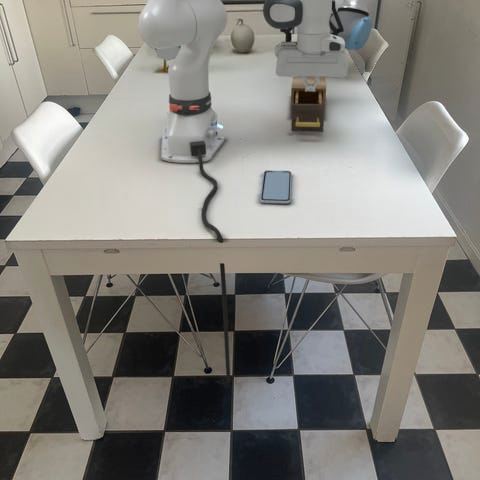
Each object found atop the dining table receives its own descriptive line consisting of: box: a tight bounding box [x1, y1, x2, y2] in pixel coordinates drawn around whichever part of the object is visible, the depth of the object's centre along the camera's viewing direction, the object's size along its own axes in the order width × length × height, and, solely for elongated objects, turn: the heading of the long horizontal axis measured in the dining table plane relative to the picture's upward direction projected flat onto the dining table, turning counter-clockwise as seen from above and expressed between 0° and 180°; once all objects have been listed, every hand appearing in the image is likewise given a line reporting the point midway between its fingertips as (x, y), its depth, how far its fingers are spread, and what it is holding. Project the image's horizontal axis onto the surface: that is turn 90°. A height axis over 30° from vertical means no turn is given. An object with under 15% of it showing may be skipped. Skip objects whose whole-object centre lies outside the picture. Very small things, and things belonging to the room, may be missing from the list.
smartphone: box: [259, 169, 293, 205], centre depth 129 cm, size 7×1×15 cm
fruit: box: [230, 18, 255, 53], centre depth 228 cm, size 10×12×15 cm
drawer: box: [290, 91, 326, 133], centre depth 159 cm, size 24×10×8 cm, turn 174°
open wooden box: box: [289, 76, 327, 120], centre depth 171 cm, size 20×11×10 cm, turn 174°
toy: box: [154, 46, 181, 73], centre depth 204 cm, size 8×20×24 cm, turn 69°
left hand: (310, 91), depth 150 cm, fingers closed
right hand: (310, 54), depth 170 cm, fingers open, 13 cm apart
